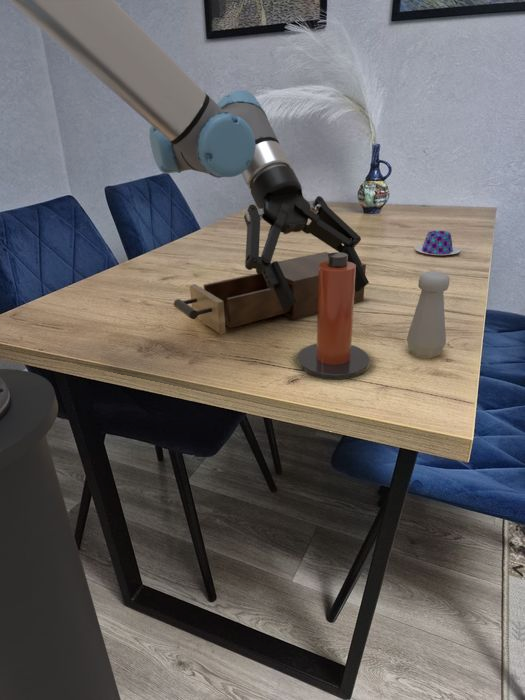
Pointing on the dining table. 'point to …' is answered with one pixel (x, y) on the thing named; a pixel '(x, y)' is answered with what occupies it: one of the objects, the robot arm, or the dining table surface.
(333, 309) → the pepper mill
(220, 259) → the dining table surface
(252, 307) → the drawer
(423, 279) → the salt shaker
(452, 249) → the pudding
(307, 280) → the cabinet
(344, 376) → the coaster
